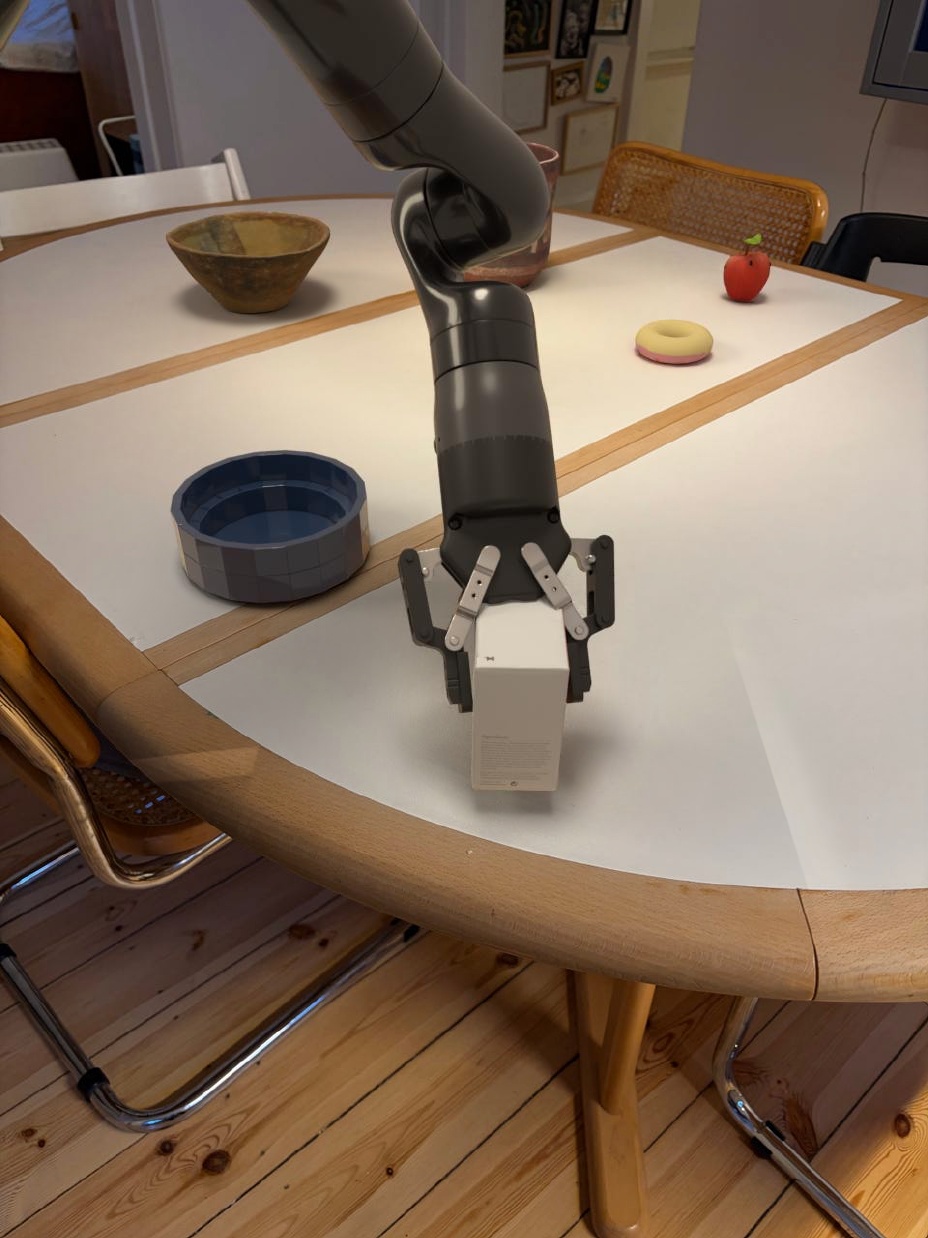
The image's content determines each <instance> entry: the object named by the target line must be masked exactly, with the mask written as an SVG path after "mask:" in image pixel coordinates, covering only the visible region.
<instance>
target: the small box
mask: <svg viewBox="0 0 928 1238" xmlns="http://www.w3.org/2000/svg"><path fill="white" fill-rule="evenodd" d="M473 629H474V631H473V633H474V635H473V636H474V637H473V669H472V672H473V674H472V698H473V712H471V713H472V714H471V715H472V716H471V717H472V718H471V719H472V720H471V721H472V722H471V724H472V725H471V727H472V728H471V789H472V790H483V791H484V790H485V791H486V790H487V791H489V790H490V791H492V790H493V791H533V792H534V791H535V792H540V791H541V792H555V791H556V790H557V789H558V781H559V770H560V764H561V763H560V761H561V752H562V745H563V735H564V734H563V733H564V727H565V726H564V725H565V716H566V706H567V703H566V697H567V688H568V680H569V672H570V668H569V659H568V651H567V641H566V633H565V624H564V615H563V609H562V608H561V609H558V610H556V609H555V608H554V607H553V606H551V605H550V604H549V603H548V601H547V598H546V596H545V595H544V596H542V597H541V598H539V599H537V600H530V601H522V600H514V599H510V600H507V601H504V602H501V603H493V604H488V603H481V605H480V607H479V610H478V612H477V615H476V617H475V619H474V628H473Z"/></svg>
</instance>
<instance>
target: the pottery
mask: <svg viewBox="0 0 928 1238" xmlns="http://www.w3.org/2000/svg"><path fill="white" fill-rule="evenodd" d="M524 142H525V143H526V145H527V146H528V147H529V148H530V150H531V151H532V152H533V154H534V155H535V157H536V158H537V160H538V161H539V163H540V165H541V167H542V169H543V171H544V173H545V176H546V179H547V182H548V185H549V189H550V196H551V211H550V217H549V221H548V224H547V227H546V229H545V231H544V232H543V234H542V236H541V237H540V238H539V239H538V240H537V241H536V242H535V243H533V244H532V245H530V246H529V247H527V248H525V249H523V250H520V251H518V252H515V253H512V254H510V255H507V256H504V257H501V258H499V259H496V260H493V261H490V262H488V263H485V264H482V265H480V266H477V267H474V268H472V269H469V270H466V271H465V282H467V281H483V280H495V281H504V282H508V283H511V284H514V285H516V286H518V287H520V288H521V289H523V288H525V287H527V286H529V285H530V284H531V283H533V281H534V280H536V278H537V277H538V276H539V275H540V274H541V272H542V271H543V269H544V267H545V265H546V263H547V261H548V259H549V255H550V251H551V244H552V228H553V217H554V216H553V215H554V205H555V197H556V190H557V189H556V188H557V183H558V176H559V169H560V162H561V161H560V160H561V156H560V154H559V152H558V151H556V150H554V149H552V148H550V147H549V146H546V145H542V144H539V143H534V142H528V141H527V142H526V141H524Z"/></svg>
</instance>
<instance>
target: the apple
mask: <svg viewBox="0 0 928 1238" xmlns="http://www.w3.org/2000/svg"><path fill="white" fill-rule="evenodd" d="M761 241H762V234H761V233H758V234H756V235H754V236H753V237H751V238H745V239H744V240H743V243H745V252H739V253H737V254H731V255H730V256H729V257H728V258H727V260H726V262H725V264H724V266H723V273H722V274H723V275H722V276H723V284H724V288H725V291H726V294H727V296H728V297H729V299H730V300H732V301H734V302H744V303H749V302H752V301H753V300H755V299H756V297H757V296H758V295H759V294H760V292H761V291H762V290H763V289H764V287H765V286H766V284H767V282H768V280H769V278H770V274H771V267H772V262H771V261H770V259H769V257H768V255H766V253H764V252H761V251H749V250H750V248H751V245H757V244H761Z"/></svg>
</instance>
